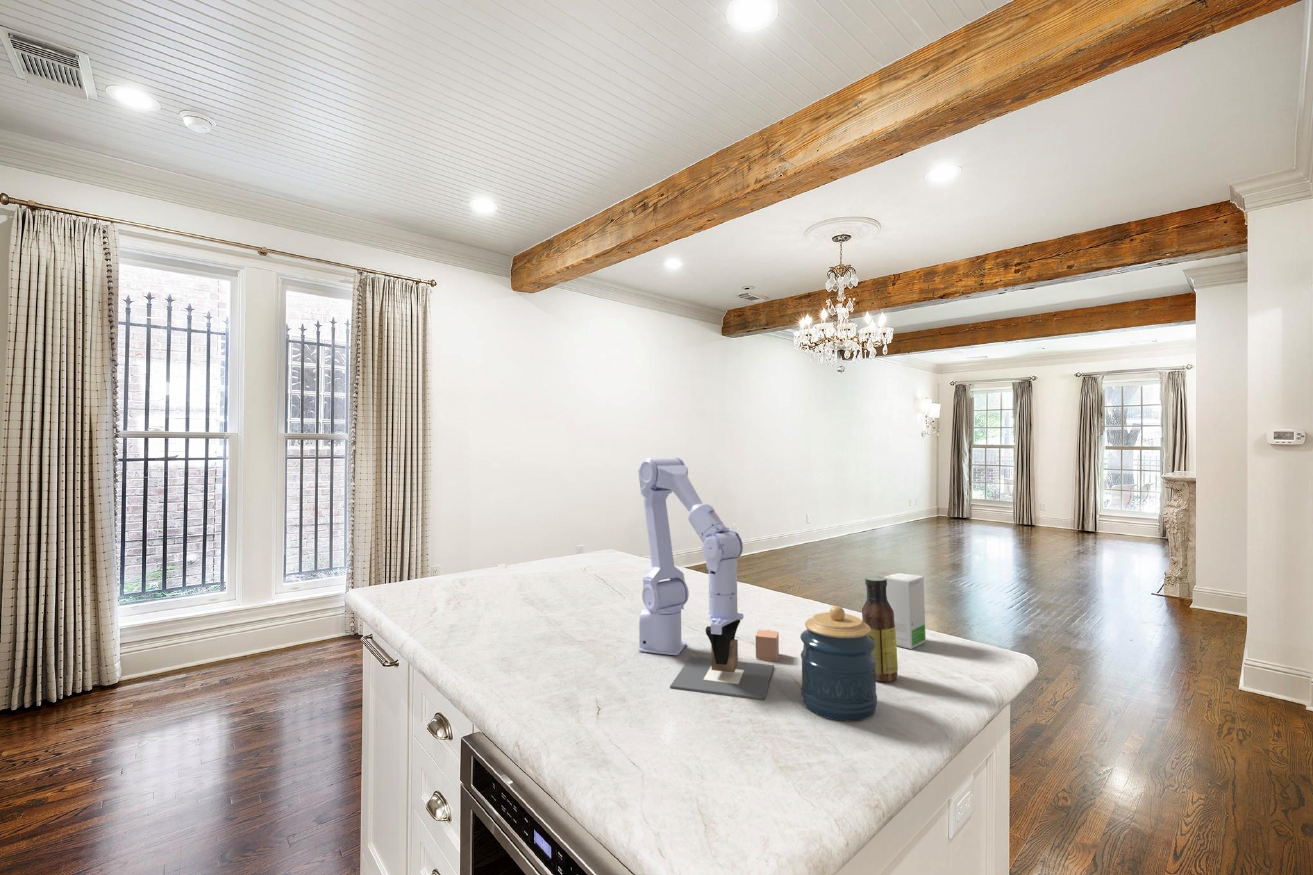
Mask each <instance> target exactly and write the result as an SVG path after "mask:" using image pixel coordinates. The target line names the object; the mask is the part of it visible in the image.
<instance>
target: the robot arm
mask: <svg viewBox="0 0 1313 875" xmlns="http://www.w3.org/2000/svg"><path fill="white" fill-rule="evenodd" d="M637 472H638V480H639V487H640V488H639V489H640V490H639V491H640V495H641V496H642V497H643V498H642V499H643V505H644V506H643V507H644V515H645V521H646V522H645V523H646V531H647V532H646V533H647V540H648V547H649V556H650V557H649V558H650V563H651V564H650V565H651V569H650V570H649V571H648V572H647V573H646V574H645V575H644V577H643V578H642V583H643V584H642V592H641V593H642V594H641V597H642V598H641V599H642V603H643V605H644V608H643V609H642V610H641V612H640V616H639V623H638V624H639V626H638V628H639V629H638V630H639V631H638V632H639V636H638V637H639V648H638V652H642V653H643V652H644V653H652V654H662V655H671V656H679V655H680V653H681V652H682V651H683V649H684V648H685V647H686V646H687V641H683V640H682V610H684V607H685V605H686V604H687V602H688V599H689V596H690V594H689V593H690V591H689V587H688V585H687V583H686V580H685V574H684V572H683V571H682V570H680V569H679V568H678V567H676V566H675V562H674V554H673V545H672V538H671V532H670V531H671V530H670V523H669V516H668V515H669V514H668V508H667V498H668V496H669V495H670V494H672V493H673V494H674V495H675V496H676V497H677V498H678V500H679V501H680V503H682V504H683V506H684V507H685V508H686V510H687V511H688V513H689V514H688V522H689V523H690V525H691V527H692V528H693V529H694V531H695V532H696V535H697V536H698V537H699V539H700V540H701V541H702V542H701V543H702V545H701V551H702V555H703V556H704V558H705V565H706V566H705V567H706V569H707V570H708V614H707V616H708V619H709V622H710V626H709V625H708V626H706V627H705V634H706V636H707V638H708V639H709V642H710V646H711V645H712V648H713V653H714V657H715V661H716V664H723V665H726V664H727V661H728V655H729V648H730V642H731V639H736V634H737V631H738V628H739V625H740V623H741V620H742V621H743V619H744V614H743V613H739V612H738V559H739V558H740V557H741V556H742V553H743V550H744V545H743V540H742V537H741V535H740V534H739V533H738V531H736V530H733V529H731V528H730V527H727V526H726V525H725V524H724V522H723V521H722V519H721V518H720V517H719V515H718V514H717V513H716V511H715V508H714V507H713V506H712V505H710V504H707V503H703V501H702V500H701V498H700V496H699V495H698V493H697V491H696V489H695V487H694V486H693V484H692V482H691V481H690V479H689V468H688V467H687V466H686V464H685V462H684V461H683V459H682V458H680V457H675V458H650V457H649V458H645V459H644V460H643V461H642V462H641V464H640V467H639V469H638V471H637ZM668 579H669V580H668Z"/></svg>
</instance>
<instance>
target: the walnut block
mask: <svg viewBox="0 0 1313 875" xmlns="http://www.w3.org/2000/svg"><path fill="white" fill-rule="evenodd" d="M738 640H739V639H736V638H734V639H731V642H730V648H729V655H728V661H727V664H726V665H723V664H716V661H715V657H714V653H713V648H712V645H711V644H710V647H711V648H710V649H711V656H710V658H711V660H712V670H716V671H724V672H733V673H734V672H735V669H736V667H737V665H738V661H739V652H738V650H739V648H738V644H739V643H738Z"/></svg>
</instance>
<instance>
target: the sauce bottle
mask: <svg viewBox="0 0 1313 875" xmlns="http://www.w3.org/2000/svg"><path fill="white" fill-rule="evenodd" d="M884 577H885V576H884ZM884 577H883V576H878V575H870V576H866V577H865V578H864V583H865V586H866V601H865V603H864V605H863V606H862V608H861V615H862V616H861V617H862V619H861V620H862V621H863V622H864V623H866V624H867V625H869V626H870V628H871V632H870V633H869V635H870V636H871V637H872V638H873V639H874V640H875V641H876V647H875V648H874V649H873V656H874V658H875V659H876V682H881V683H893V682H895V681H896V680H897V679H898V671H899V668H898V666H899V663H898V650H897V649H898V648H897V647H898V646H896V631H895V624H894V611H893V610H892V608H891V606H890V604H889V603H888V601H887V596H886V586H887V580H886V578H884Z"/></svg>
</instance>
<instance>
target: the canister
mask: <svg viewBox="0 0 1313 875" xmlns="http://www.w3.org/2000/svg"><path fill="white" fill-rule="evenodd" d="M804 625H805V628H806V629H805V630H804V631H801V633H800V637H799V638H800V640H801V642H802V643H803V649H802V650H801V653H800V658H801V686H800V689H801V691H800V693H801V697H802V702H803V705H804V706H805V707H806V708H807V709H808V710H810V712H812V713H814V714H816V715H818V716H822V717H824V718H827V719H830V720H836V721H846V722H848V721H849V722H854V721H861V720H865V719H868V718H870V717H872V716H873V715H875V713H876V710H877V709H876V708H877V706H878V695H877V683H876V682H877V681H876V659H875V658H874V656H873V649H874V648H875V647H876V641H875V640H874V639H873V638H872V637H871V636H870V635H869V633H870V632H871V628H870V626H869V625H867V624H866V623H864V622H863V620H862V619H861V618H860V617H858V616H855V615H852V614H848V613H845V610H844V609H843V607H841V606H840V605H839V606H838V605H834V606H832V607H831V608H830V610H829V612H821V613H817V614H815V615H813V616H812V617H811V618H809V619H807V620H806V621H805V623H804Z"/></svg>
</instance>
